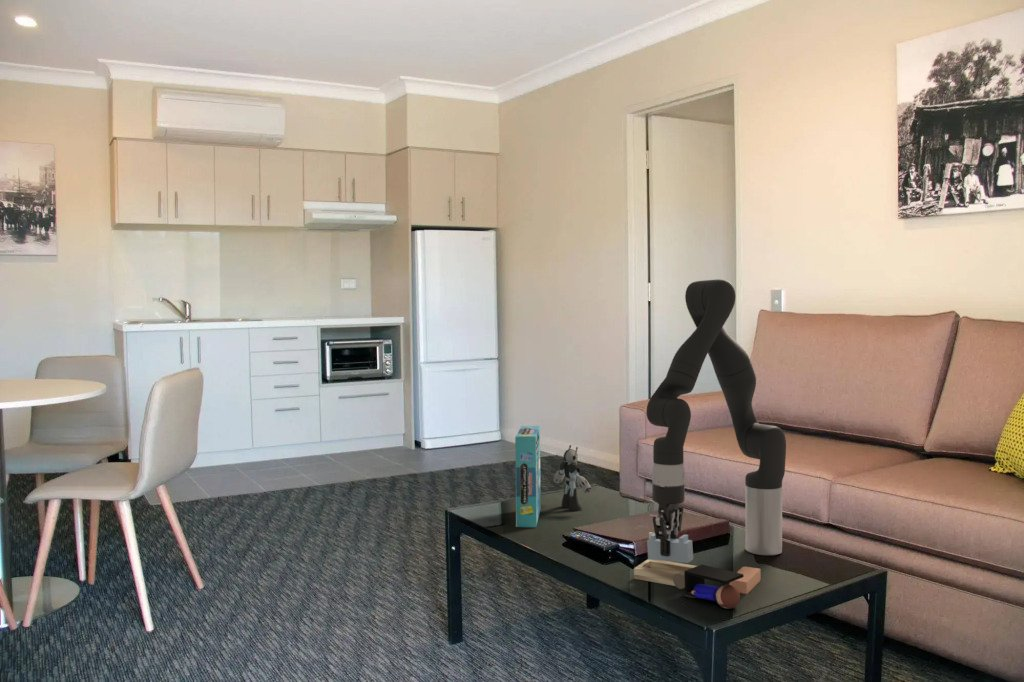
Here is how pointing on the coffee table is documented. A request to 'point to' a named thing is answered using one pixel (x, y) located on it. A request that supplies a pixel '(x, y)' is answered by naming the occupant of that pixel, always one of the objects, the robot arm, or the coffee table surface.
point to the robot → (571, 480)
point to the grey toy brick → (671, 549)
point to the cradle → (659, 571)
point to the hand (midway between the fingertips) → (668, 553)
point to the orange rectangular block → (747, 579)
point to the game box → (528, 476)
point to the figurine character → (696, 585)
